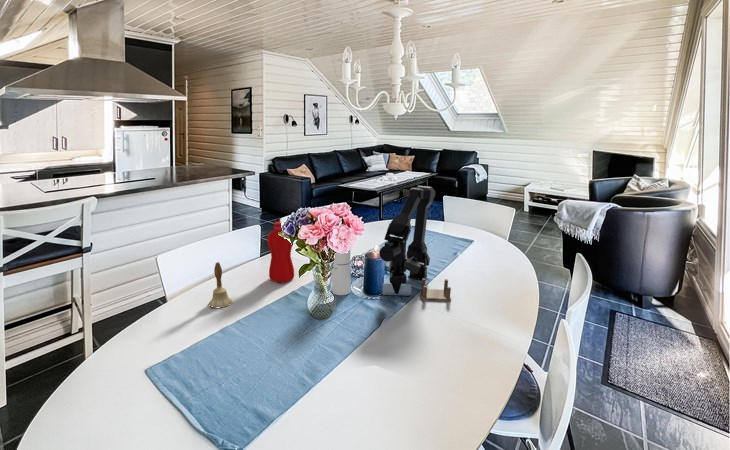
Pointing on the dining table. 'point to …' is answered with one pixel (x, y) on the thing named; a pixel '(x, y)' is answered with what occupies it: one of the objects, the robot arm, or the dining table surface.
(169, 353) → the dining table surface
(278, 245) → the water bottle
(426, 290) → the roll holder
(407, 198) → the robot arm
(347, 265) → the cylindrical container
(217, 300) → the hand bell
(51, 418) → the dining table surface
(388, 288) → the cylinder
